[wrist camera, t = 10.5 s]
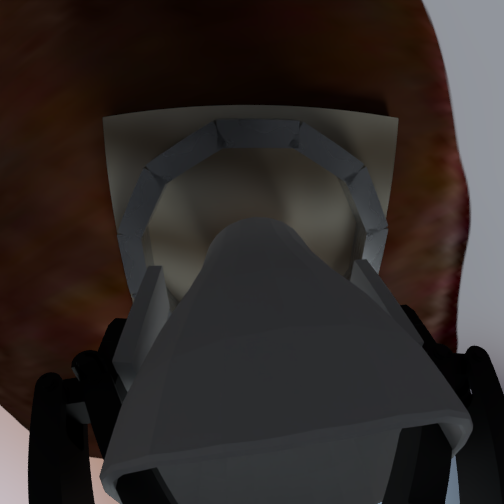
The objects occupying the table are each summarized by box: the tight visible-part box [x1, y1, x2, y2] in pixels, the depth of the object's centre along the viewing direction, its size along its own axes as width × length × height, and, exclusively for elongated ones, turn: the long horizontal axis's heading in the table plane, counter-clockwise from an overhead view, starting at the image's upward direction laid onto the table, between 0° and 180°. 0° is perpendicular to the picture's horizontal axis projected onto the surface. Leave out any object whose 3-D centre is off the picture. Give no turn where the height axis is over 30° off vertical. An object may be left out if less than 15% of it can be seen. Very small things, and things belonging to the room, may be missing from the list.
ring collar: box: [117, 118, 388, 322], centre depth 19 cm, size 16×16×2 cm
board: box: [103, 105, 398, 302], centre depth 20 cm, size 18×18×1 cm
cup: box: [100, 217, 473, 504], centre depth 12 cm, size 10×10×14 cm
